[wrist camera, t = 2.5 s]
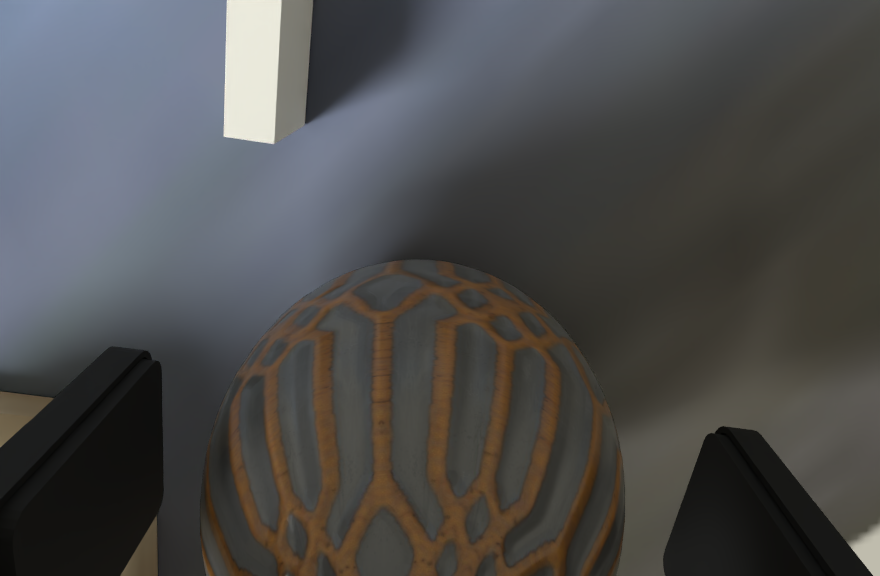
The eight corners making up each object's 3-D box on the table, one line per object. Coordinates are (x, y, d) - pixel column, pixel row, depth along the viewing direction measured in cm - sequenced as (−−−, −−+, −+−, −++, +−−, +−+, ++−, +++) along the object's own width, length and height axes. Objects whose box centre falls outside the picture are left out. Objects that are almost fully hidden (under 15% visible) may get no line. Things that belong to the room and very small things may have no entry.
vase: (561, 198, 13) (768, 457, 5) (582, 473, 16) (742, 949, 7) (235, 243, 13) (-82, 556, 5) (305, 506, 16) (165, 997, 8)
